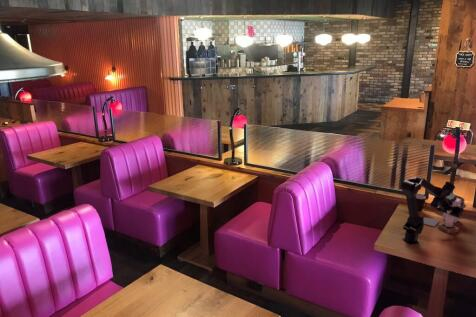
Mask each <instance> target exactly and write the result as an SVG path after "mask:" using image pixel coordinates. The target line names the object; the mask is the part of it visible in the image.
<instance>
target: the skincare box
mask: <svg viewBox="0 0 476 317" xmlns="http://www.w3.org/2000/svg"><path fill="white" fill-rule="evenodd" d="M461 203H462V198H457V200H456V201H454V202H453V205H451V206H455V207H456V206H459V207H461ZM459 218H460V217H459ZM459 218H457V217H454V222H453V223H455V224H456V223H457V222H458V221H459ZM445 219H446V213H444V212H442V220H444V221H445Z"/></svg>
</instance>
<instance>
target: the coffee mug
mask: <svg viewBox="0 0 476 317" xmlns="http://www.w3.org/2000/svg"><path fill="white" fill-rule="evenodd" d="M426 199H427V197H426V196H425V195H423V194H418V193H417V194H416V201H417V207H418V213H421V212H423V209H424V208H426V207H427V202H426Z"/></svg>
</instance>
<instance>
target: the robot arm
mask: <svg viewBox="0 0 476 317" xmlns="http://www.w3.org/2000/svg"><path fill="white" fill-rule="evenodd" d="M422 188H423V189H425V190H426V191H427V193H428V195H431V196H433V198H432V200H431V202H430V204H429V205H430V207H431V208H433V209H436V210H437V211H439V212H441V213H443V212H444V213H447V211H450V210H451V212H450V214H449V215H451V216H454V217H457V218H460V217H461V216H462V215H463V213H464V212H465V208H464V207H461V206H460V207H459V206H456V207H455V206H451V205H453V202H454V201H456V200H457V199H458V198H457V194H454V193H453V192H454V190H455V189H456V186H455V185H454V184H453V183H451V182H450V181H445V183H444V185H442V187H440V186H436V185H434V184H433V183H431V182H429V181H428V180H426V178H424V177H421V176H415V177H411V178H407V179H405V180H404V181H402V182H401V183H400V189H401V193H403V195H404V196H405V198H406V204H407V210H408V215H409V216H408V217H407V219H406V222H405V223H404V225H402V227H403V228H402V229H403V230H404V231H405V233H404V238H403V237H402V240H403V241H404V242H405V243H408V244H409V245H414V244H419V243H420V242H419V241H418V239H419V235H421V234H422V232H423V229H424V226H425V224H424V219H423V218H424V217H423V216H421V215H419V213H420V212H418V207H417V201H416V194H418V193H419V191H420V190H421V189H422Z"/></svg>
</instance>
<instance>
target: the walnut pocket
mask: <svg viewBox="0 0 476 317" xmlns="http://www.w3.org/2000/svg"><path fill="white" fill-rule="evenodd" d="M437 229H439V230H441V231H442V232H444V233H446V234H454V233H459V231H460V228H459V227H457V226H456V225H454V224H453V227H447V226H445V222H444V223H438V224H437Z"/></svg>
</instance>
